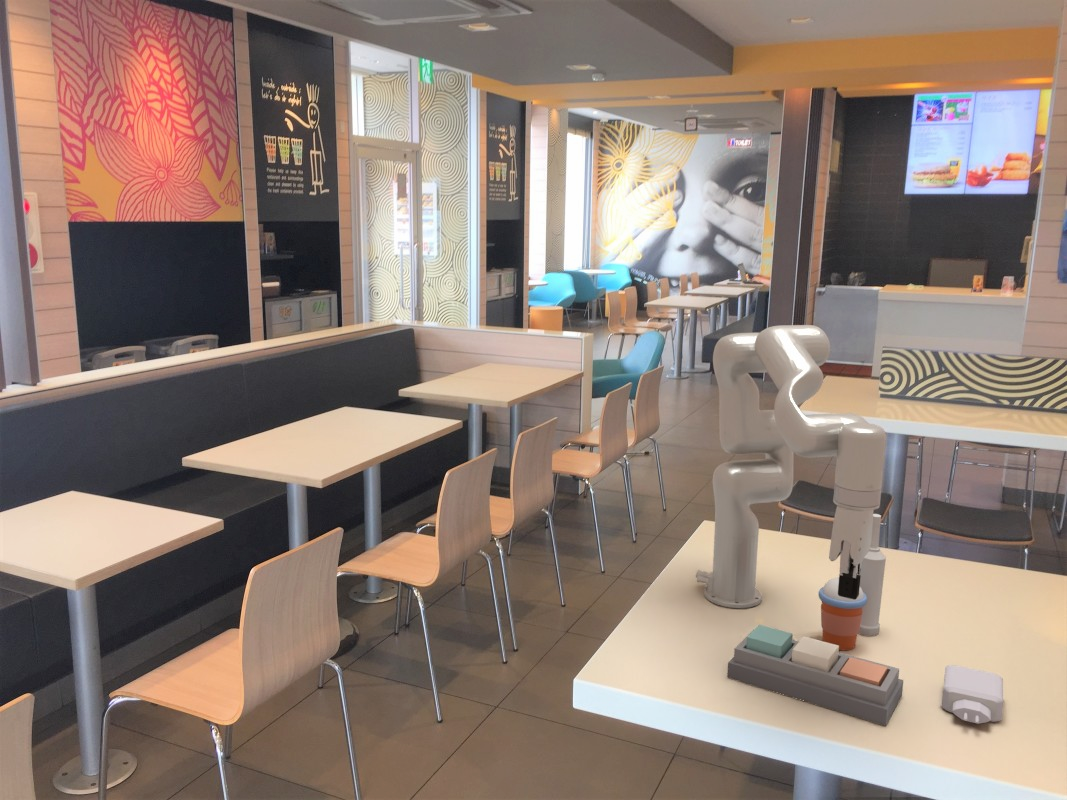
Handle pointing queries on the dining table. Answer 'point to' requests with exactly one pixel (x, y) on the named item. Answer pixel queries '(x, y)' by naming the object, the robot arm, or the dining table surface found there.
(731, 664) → the keypad
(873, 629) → the bottle
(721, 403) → the robot arm
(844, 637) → the cup with straw
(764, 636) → the teal key
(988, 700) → the charger
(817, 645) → the cream key
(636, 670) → the dining table surface
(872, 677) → the terracotta key
